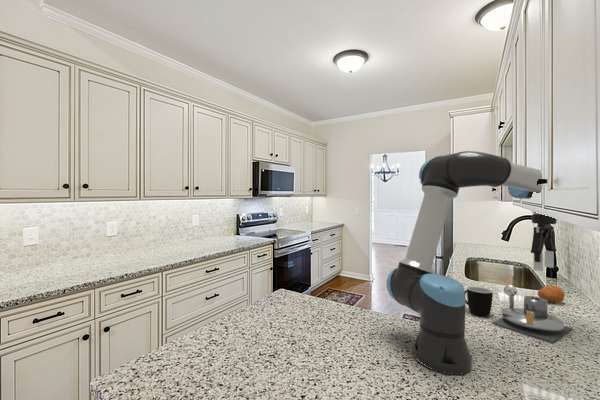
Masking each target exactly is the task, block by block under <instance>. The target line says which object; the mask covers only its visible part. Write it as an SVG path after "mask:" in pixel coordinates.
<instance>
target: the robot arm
mask: <svg viewBox="0 0 600 400" xmlns="http://www.w3.org/2000/svg"><path fill="white" fill-rule="evenodd" d="M510 161H511V160H509V159H508V158H506V157H503V156H499V155H496V154H495V155H494V154H491V153H486V152H481V151H472V150H465V151H464V150H463V151H460V152H459V151H458V152H454V153H450V154H445V155H438V156H434V157H432V158H429V159H427V160H426V161H424V163H423V164H422V165H421V167H420V169H419V172H418V179H419V182H420V184H421V191H422V192H423V198H422V201H421V204H420V208H419V211H418V214H417V219H416V222H415V225H414V228H413V231H412V236H411V238H410V242H409V244H408V248H407V252H406V254H405V258H403V259H402V260H400V261H399V262H398V265H397V267H396V268H393V270H391V271H390V272H389V274H388V276H387V277H386V278H387V279H386V288H387V289H386V290H387V292H388V294H389V296H390V297H391V299H393V300H394V301H396V302H397V303H398V304H400V305H401V306H403V307H404V306H405V307H406V308H408V309H410V310H412V311H414V312H416V313H417V314H419V315H420V316H419V331H418V333H417V335H416V336H417V337H416V339H415V342H414V344H413V352H414V354H413V356H414V355H415V357H416V358H417V359H418V360H419V361H420V362H422V363H423V364H425V365H426V366H428V367H430V368H432V369H434V370H437V371H441V372H445V373H452V374H451V375H453V374H460V375H462V374H461V373H465V374H468V373H470V372H471V371H472V368H473V359H472V355H471V352H470V349H469V346H468V342H467V340H466V337H465V336H466V335H465V334H466V331H465V329H466V300H467V298H466V294H465V291H466V290H465V287H464V285H463V284H462V283H461V282H460V281H459V280H457V279H455V278H453V277H450V276H447V275H442V274H438V273H435V270H434V269H433V264H434V260H435V257H436V253H437V249H438V246H439V243H440V239H441V235H442V232H443V228H444V226H445V222H446V219H447V214H448V211H449V208H450V205H451V202H452V200H454V199H456V198H457V197H458V195H459V191H460V188H469V187H470V188H471V187H482V186H483V187H492V188H498V187H501V186H503V187H508V188H507V192H508V194H509V195H510V196H511V197H512V198H515V199H519V200H522V199H526V200H527V199H528V200H529V199H530V198H531V197H532V194H533V192H536V193H540V192H541V190H542V185H541V184H538V185H537V181H538V179H541V178H542V173H541V170H542V169H537V168H533V167H531V166H525V165H521V164H517V163H514V162H510ZM531 213H532V215H531V223H532V224H537V225H536V226H534V227H533V235H532V236H533V237H532V242H531V249H530V253H531V254H533V270H534V271H539V272H544V267H546V268H552V269H553V268H555V267H554V265H555V263H554V259H555V258H554V257H555V256H554V254H555V253H554V252H557V247H556V242H555V232H554V230H555V228H554V226H551V225H556V224H557V223H558V222H557V221H558V220H557V219H555V218H552V217H549V216H545V215H542V214H539V213H536V212H533V211H532V210H531ZM544 247H545V248H544ZM544 249H545V250H544ZM543 250H544V254H543ZM415 357H414V358H415ZM432 369H431V370H432ZM434 370H433V371H434ZM470 370H471V371H470ZM437 371H436V372H437ZM469 371H470V372H469ZM441 372H440V373H441ZM467 372H468V373H467ZM445 373H444V374H445Z"/></svg>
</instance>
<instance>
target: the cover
mask: <svg viewBox="0 0 600 400" xmlns="http://www.w3.org/2000/svg"><path fill="white" fill-rule="evenodd" d="M548 303H549V302H548V301H547V300H546V299H543V298H540V297H539V296H534V295H533V296H532V295H525V296H523V309H524V314H526V311H532V312H534V317H536V318H547V317H548V315H549V314H548V313H549V311H548V310H549V309H548V308H549V307H548V306H549V305H548Z"/></svg>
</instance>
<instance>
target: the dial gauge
mask: <svg viewBox="0 0 600 400" xmlns="http://www.w3.org/2000/svg"><path fill="white" fill-rule="evenodd" d="M503 292H504V293H505V295H506V296H508V299H509V300H508V301H509V303H508V308H515V296H517V293H518V290H517V288H516V287H515V286H514V285H512V284H509V285H505V286H504V288H503Z"/></svg>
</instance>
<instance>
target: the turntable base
mask: <svg viewBox="0 0 600 400" xmlns="http://www.w3.org/2000/svg"><path fill="white" fill-rule="evenodd" d="M491 325H493V326H498V327H500V328H503V329H506V330H510V331H512V332H515V333H519V334H522V335H524V336H528V337H530V338H534V339H537V340H540V341H544V342H545V343H546V342H547V343H549V344H555V343H556V342H558V340H560V339H562V338H563V337H564V336H566V335H567V334H568V333H570V332H571V331H572V330H573V328H572V327H569V326H566V325H564V330H562V331H558V332H549V331H540V330H534V329H530V328H526V327H522V326H519V325H516V324H514V323H511V322H509V321H507V320H506V319H504V318H503V317H501V318H498V319H497V320H495V321H494V320H493V321H492V323H491Z"/></svg>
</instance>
